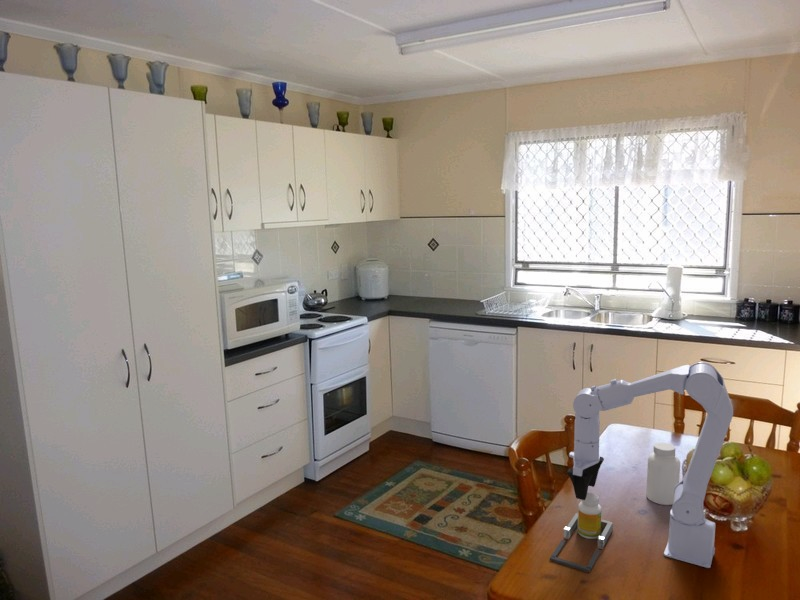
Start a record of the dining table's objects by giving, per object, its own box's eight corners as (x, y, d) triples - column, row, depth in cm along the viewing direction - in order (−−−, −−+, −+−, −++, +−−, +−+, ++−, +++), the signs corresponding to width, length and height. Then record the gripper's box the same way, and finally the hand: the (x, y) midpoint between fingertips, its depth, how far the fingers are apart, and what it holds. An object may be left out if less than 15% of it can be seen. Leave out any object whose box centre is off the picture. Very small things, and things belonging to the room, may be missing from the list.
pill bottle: (645, 503, 161) (648, 449, 158) (646, 489, 168) (648, 438, 165) (678, 508, 158) (682, 454, 155) (677, 494, 165) (680, 442, 162)
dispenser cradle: (612, 529, 148) (613, 520, 148) (602, 549, 140) (603, 539, 140) (575, 519, 153) (575, 511, 153) (563, 538, 145) (563, 528, 145)
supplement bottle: (601, 540, 144) (603, 502, 142) (578, 538, 145) (579, 500, 143) (599, 528, 149) (600, 491, 147) (576, 526, 150) (577, 490, 148)
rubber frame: (600, 553, 139) (600, 550, 138) (589, 572, 132) (589, 570, 131) (561, 542, 143) (561, 539, 143) (549, 560, 136) (549, 557, 136)
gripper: (579, 425, 152) (578, 476, 154) (560, 446, 140) (559, 500, 143) (607, 431, 148) (606, 482, 151) (591, 452, 136) (589, 508, 139)
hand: (585, 491), depth 146 cm, fingers open, 7 cm apart
